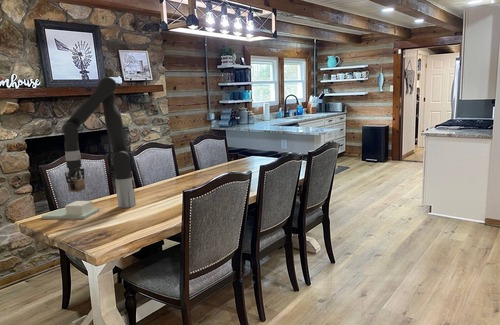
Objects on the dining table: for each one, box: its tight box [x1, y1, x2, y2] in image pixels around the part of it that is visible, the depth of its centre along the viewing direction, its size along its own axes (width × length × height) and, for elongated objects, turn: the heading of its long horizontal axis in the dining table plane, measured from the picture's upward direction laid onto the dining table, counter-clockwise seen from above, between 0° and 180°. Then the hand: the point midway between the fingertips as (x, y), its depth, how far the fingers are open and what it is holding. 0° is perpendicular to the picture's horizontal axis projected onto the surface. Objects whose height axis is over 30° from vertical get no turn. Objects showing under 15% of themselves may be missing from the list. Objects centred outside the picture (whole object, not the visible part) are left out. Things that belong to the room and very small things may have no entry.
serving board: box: [41, 208, 100, 220], centre depth 214 cm, size 26×14×2 cm, turn 80°
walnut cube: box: [67, 178, 86, 193], centre depth 211 cm, size 6×6×6 cm
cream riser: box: [64, 200, 94, 215], centre depth 213 cm, size 10×10×5 cm
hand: (76, 188), depth 212 cm, fingers closed on walnut cube, 6 cm apart
